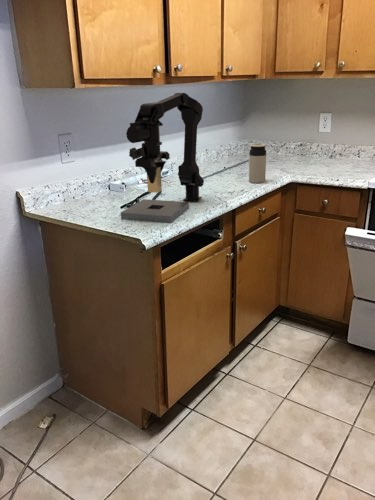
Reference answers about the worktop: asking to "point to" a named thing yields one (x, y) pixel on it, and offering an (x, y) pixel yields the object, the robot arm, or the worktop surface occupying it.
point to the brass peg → (155, 182)
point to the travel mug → (257, 163)
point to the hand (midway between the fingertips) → (154, 181)
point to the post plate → (155, 210)
